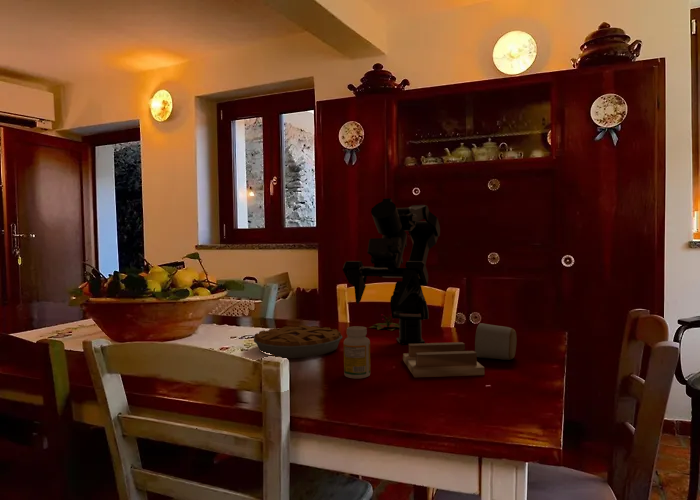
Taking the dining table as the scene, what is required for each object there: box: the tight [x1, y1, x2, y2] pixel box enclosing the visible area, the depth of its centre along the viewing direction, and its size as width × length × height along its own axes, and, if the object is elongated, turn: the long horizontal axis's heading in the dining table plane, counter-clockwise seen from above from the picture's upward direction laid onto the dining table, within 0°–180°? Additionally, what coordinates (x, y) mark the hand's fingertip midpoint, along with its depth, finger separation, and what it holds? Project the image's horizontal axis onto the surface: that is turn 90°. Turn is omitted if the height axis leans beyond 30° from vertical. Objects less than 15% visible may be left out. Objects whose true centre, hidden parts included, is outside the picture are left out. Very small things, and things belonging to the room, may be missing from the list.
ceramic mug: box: [474, 322, 518, 361], centre depth 116 cm, size 11×8×8 cm
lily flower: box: [367, 313, 399, 331], centre depth 155 cm, size 12×12×5 cm
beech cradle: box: [402, 341, 486, 378], centre depth 107 cm, size 14×14×4 cm
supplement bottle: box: [343, 325, 371, 380], centre depth 102 cm, size 5×5×10 cm
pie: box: [253, 324, 343, 359], centre depth 128 cm, size 22×22×5 cm
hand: (377, 303), depth 109 cm, fingers open, 9 cm apart
